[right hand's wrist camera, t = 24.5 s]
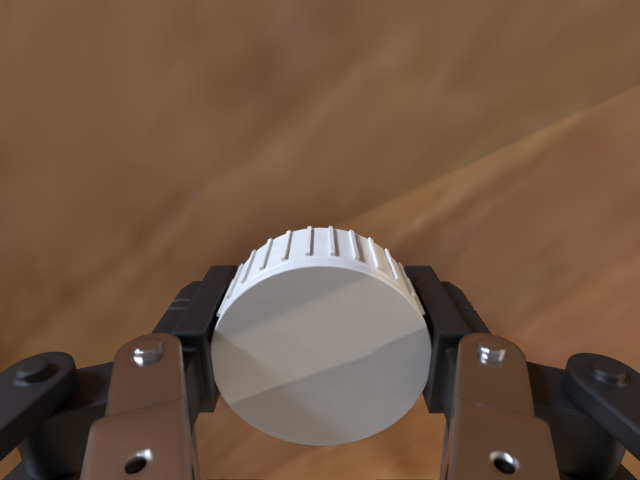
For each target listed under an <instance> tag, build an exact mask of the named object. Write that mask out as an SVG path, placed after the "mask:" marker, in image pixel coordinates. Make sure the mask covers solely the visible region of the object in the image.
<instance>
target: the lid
mask: <svg viewBox="0 0 640 480" xmlns="http://www.w3.org/2000/svg"><path fill="white" fill-rule="evenodd" d="M423 315H425V312H424V310H423V308H422V305H421V303H420V301H419V299H418V297H417V295H416V292H415V290H414V288H413V286H412V284H411V282H410V279H409V278H407V276H406V274H405V272H404V270H403V267H402V265H401V264H400V262H399V263H396V262H395V260H394V259H393V258H392V257H391V255H390V253H389V250H388V249H385V250H383V249H382V248H381V247H380V246H378V245H377V244H375V243H374V242H373V239H372V238H370V237H369V238H368V239H367V238H365V237H362V236H360V235H358V234H355V233H354V231H353V230H350V231H349V232H348V231H345V230H339V229H333V226H329V228H312V227H311V226H308V227H307V229H302V230H298V231H293V232H291V230H289V231H287V233H286V234H285V235H282V236H279V237H277V238H275V239H274V240H272V238H270V239H269V240H268V241H267V244H265V245H264V246H262V247H261V248H259V249H258V250H257V251H256V250H253V251H252V253H251V256H250V258H249V259H248V261H247V262H246V263H245V264H241V265H240V267H239V269H238V271H237V273H236V276H235V278H234V279H232V282H231V284H230V286H229V288H228V291H227V293H226V295H225V297H224V299H223V302H222V304H221V306H220V308H219V311H218V313H217V315H216V316H217V317H219V320H218V322H217V324H216V327H215V329H214V332H213V336H212V340H211V356H212V364H213V372H214V379H215V383H216V385H217V388H218V390H219V392H220V394H221V395H222V397H223V398H224V400H225V401H226V403H227V404H228V405H229V406H230V408H231V409H232V410H233V411H234V412H235V413H236V414H237V415H238V416H239V417H240V418H241V419H243V420H244V421H245V422H247V423H248V424H249V425H251V426H252V427H254V428H256V429H258V430H259V431H261V432H263V433H265V434H268V435H270V436H272V437H275V438H278V439H281V440H284V441H287V442H292V443H296V444H303V445H311V446H329V445H340V444H345V443H351V442H355V441H358V440H362V439H365V438H367V437H370V436H372V435H375V434H377V433H379V432H381V431H383V430H385V429H386V428H388V427H390V426H391V425H393V424H394V423H396V422H397V421H398V420H399V419H400V418H402V417H403V416H404V415H405V414H406V413H407V412H408V411H409V410H410V409H411V408H412V407H413V406H414V404H415V403H416V402H417V400H418V399H419V397H420V396H421V394H422V392H423V390H424V388H425V386H426V384H427V381H428V375H429V367H430V360H431V351H432V344H431V337H430V334H429V331H428V328H427V325H426V323H425V321H424V318H423Z"/></svg>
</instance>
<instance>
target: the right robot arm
mask: <svg viewBox="0 0 640 480" xmlns="http://www.w3.org/2000/svg"><path fill="white" fill-rule="evenodd" d="M237 271H238V268H237V266H211V267H210V269H209V270H208V272H207V274H206V275H205V277H204V279H203V280H202V281H193V282H192V283H190V284H189V285H187V286H186V287H184V288H183V289H181V291H180V292H179V294H178V295H177V297H176V298H175V299H174V302H172V304H171V305H170V307H169V310H167V311H166V313H165V314H164V316H163V317H162V319H161V320H160V322H159V323H158V325H157V326H156V328H155V329H154V331H153V332H152V333H151V334H147V335H143V336H140V337H138V338H135V339H133V340H131V341H129V342H128V343H126V344H125V345H124V346H122V347H121V348H120V349H119V350H118V352H117V353H116V355H115V358H114V361H113V362H110V363H106V364H101V365H96V366H91V367H86V368H81V369H76V366H75V362H74V359H73V357H72V356H71V355H69V354H67V353H63V352H48V353H43V354H38V355H35V356H32V357H29V358H26V359H24V360H22V361H20V362H18V363H16V364H14V365H12V366H11V367H9V368H8V369H6V370H5V371H3V372H2V373H1V374H0V461H1V460H2V459H3V458H4V457H6V456H7V455H8V454H9V453H10V452H11V451H12V450H13V449H14V448H15V447H17V448H18V450H19V453H20V455H21V458H22V461H21V462H20V463H19V464H18V465H17V466H16V467H15V468H14V469H13V470H12V471H11V472H10V473H9V474H8V475H7V476H6V477H5V478H4V479H3V480H200V471H199V461H198V451H197V441H196V432H195V426H194V424H195V422H196V419H197V416H198V414H199V412H214V409H215V406H216V403H217V400H218V397H219V394H220V392H219V390H218V388H217V385H216V383H215V379H214V372H213V364H212V356H211V340H212V336H213V332H214V329H215V327H216V324H217V322H218V320H219V317H217V316H216V315H217V313H218V311H219V308H220V306H221V304H222V302H223V299H224V297H225V295H226V293H227V291H228V288H229V286H230V284H231V282H232V279H234V278H235V276H236V273H237ZM404 272H405V274H406V276H407V278H409V279H410V282H411V284H412V286H413V288H414V290H415V292H416V295H417V297H418V299H419V301H420V303H421V305H422V308H423V310H424V312H425V315H423V318H424V321H425V323H426V325H427V328H428V331H429V334H430V337H431V344H432V351H431V360H430V367H429V375H428V381H427V384H426V386H425V388H424V390H423V392H422V393H423V396H424V399H425V402H426V405H427V408H428V411H429V413H444V415H445V417H446V426H445V432H444V441H443V451H442V461H441V471H440V480H637V479H636V478H635V477H634V476H633V475H632V474H631V473H630V472H629V471H628V470H627V469H626V468H625V467H624V466H623V465H622V464H621V461H622V459H623V456H624V454H625V451H626V449H627V450H628V451H629V452H630V453H631V454H632V455H633V456H634V457H636V458H637V459H638V460H639V461H640V374H639V373H638V372H637V371H635V370H634V369H632V368H631V367H629V366H627V365H625V364H624V363H622V362H619V361H617V360H615V359H612V358H609V357H606V356H603V355H598V354H592V353H578V354H575V355H573V356H571V357H570V358H569V359H568V362H567V365H566V368H565V370H563V369H559V368H554V367H549V366H544V365H539V364H535V363H531V362H528V361H526V358H525V355H524V353H523V352H522V350H521V349H520V348H519V347H518V346H516V345H515V344H514V343H512V342H511V341H509V340H507V339H505V338H502V337H500V336H497V335H493V334H491V333H490V331H489V330H488V328H487V327H486V326H485V324H484V323H483V321H482V320H481V318H480V317H479V315H478V314H477V312H476V311H475V310H474V308H473V307H472V305H471V304H470V302H468V299H467V298H466V296H465V295H464V293H463V292H462V291H461V290H460V289H459V288H457V287H456V286H454V285H453V284H451V283H450V282H440V280H439V279H438V277H437V275H436V274H435V272H434V271H433V269H432V267H431V266H406V267H405V269H404Z"/></svg>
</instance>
